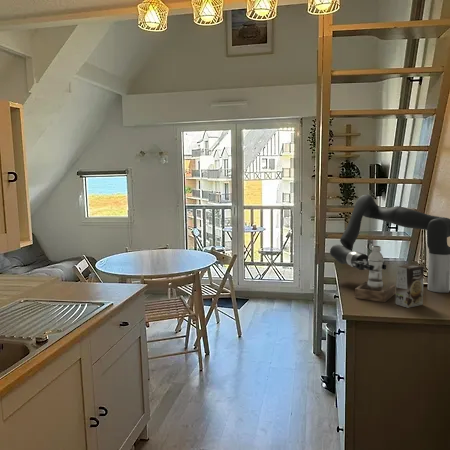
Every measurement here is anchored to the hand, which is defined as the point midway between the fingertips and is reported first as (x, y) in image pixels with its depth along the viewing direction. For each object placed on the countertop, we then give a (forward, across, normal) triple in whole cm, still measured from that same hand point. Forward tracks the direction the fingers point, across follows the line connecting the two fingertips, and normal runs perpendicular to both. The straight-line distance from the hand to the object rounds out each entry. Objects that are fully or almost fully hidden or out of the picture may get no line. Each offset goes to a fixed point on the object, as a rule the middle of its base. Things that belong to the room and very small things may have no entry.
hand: (378, 267), depth 188 cm
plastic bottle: (-2, 0, +11) cm, 11 cm away
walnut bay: (-2, 0, +13) cm, 13 cm away
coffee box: (+13, +6, +13) cm, 20 cm away
